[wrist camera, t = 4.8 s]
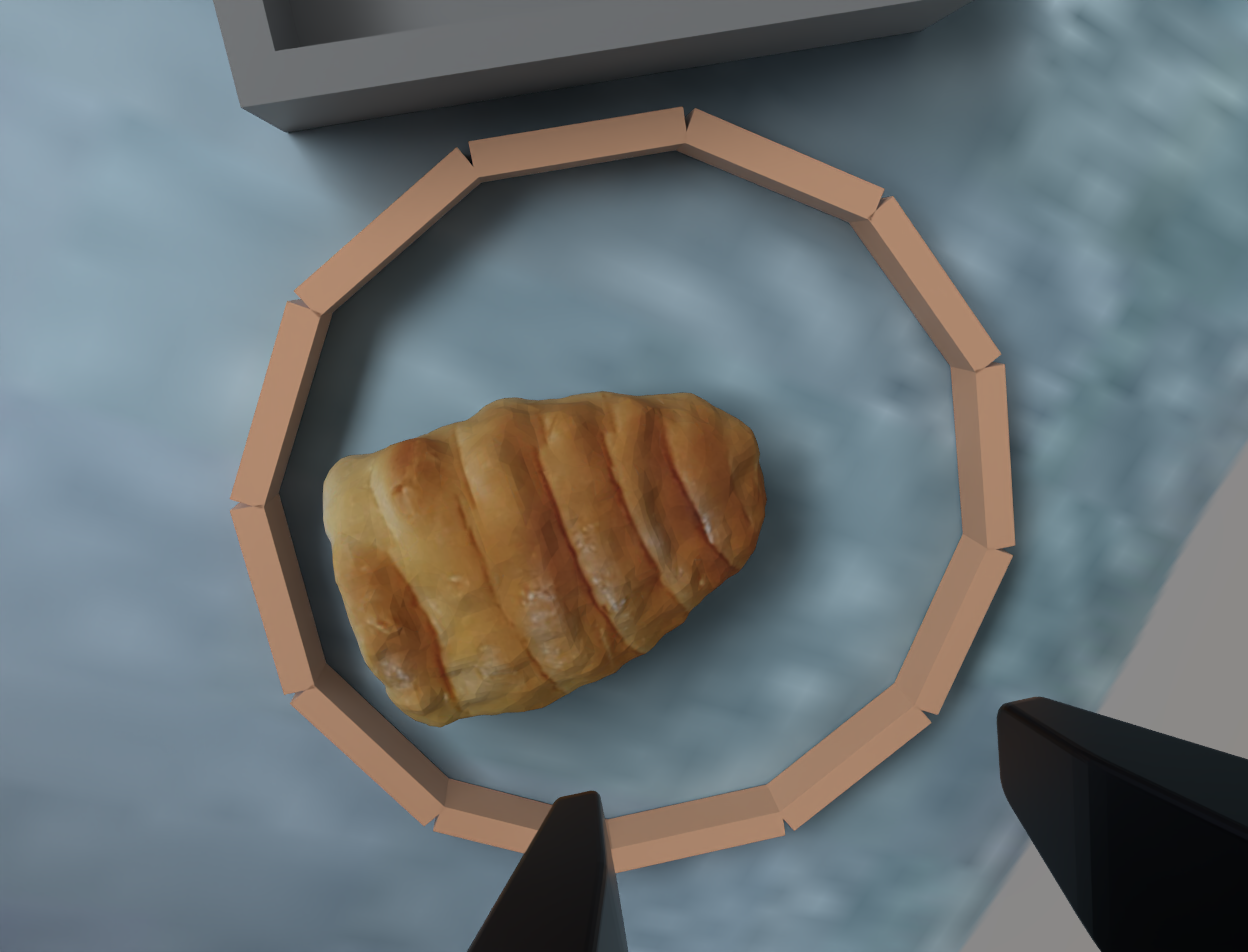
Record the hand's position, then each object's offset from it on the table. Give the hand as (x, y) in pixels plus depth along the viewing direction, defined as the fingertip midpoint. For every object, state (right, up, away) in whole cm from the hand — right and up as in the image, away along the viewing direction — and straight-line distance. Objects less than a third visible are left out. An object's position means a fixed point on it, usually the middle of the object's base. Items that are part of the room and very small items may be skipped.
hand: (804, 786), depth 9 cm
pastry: (-1, +1, +14) cm, 14 cm away
